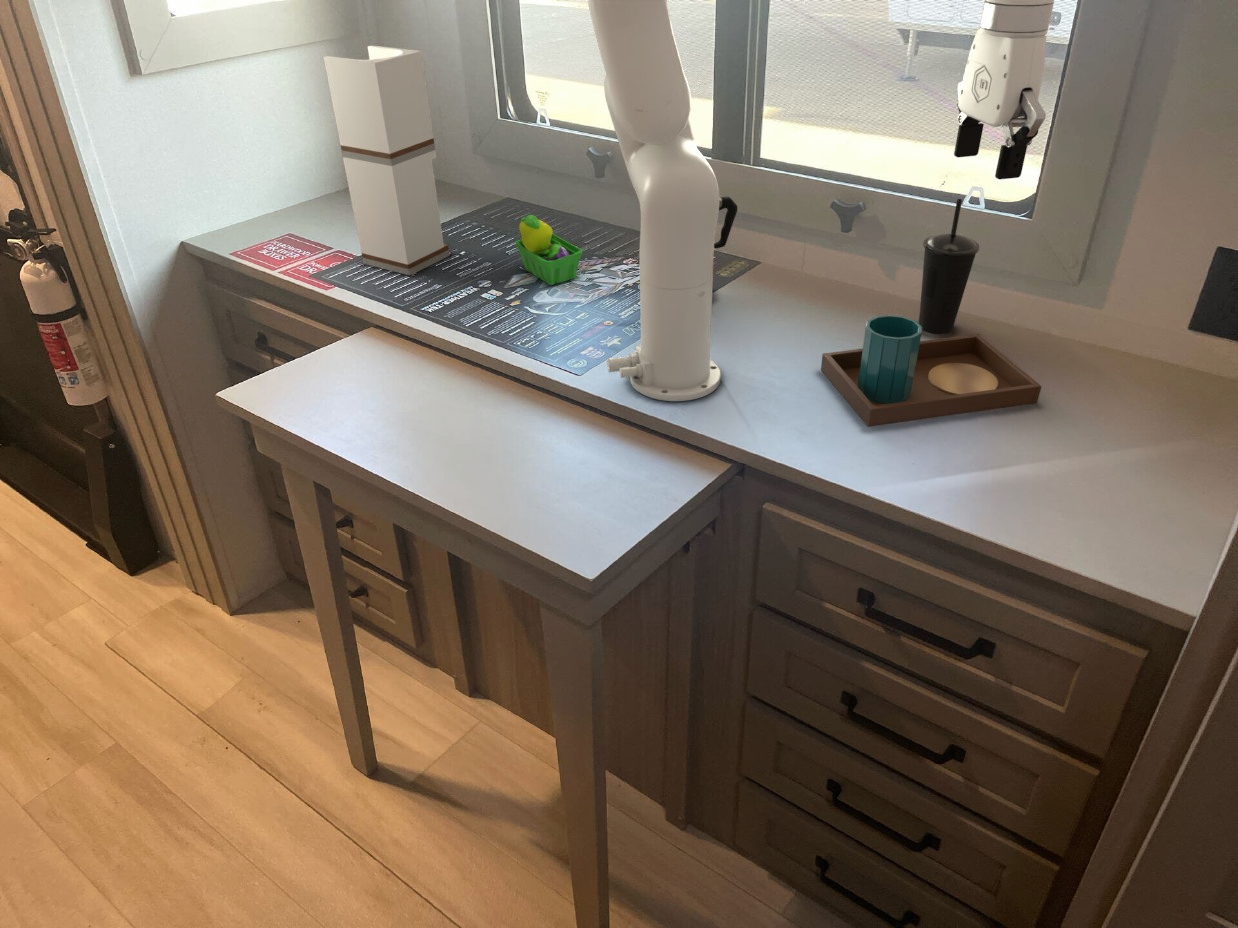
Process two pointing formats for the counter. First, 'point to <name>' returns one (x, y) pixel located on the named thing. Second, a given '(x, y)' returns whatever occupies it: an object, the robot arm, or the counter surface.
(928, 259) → the drinking cup
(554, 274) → the fruit basket
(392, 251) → the striped cream pillar
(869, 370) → the cup
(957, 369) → the coaster
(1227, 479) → the counter surface
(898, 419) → the tray
